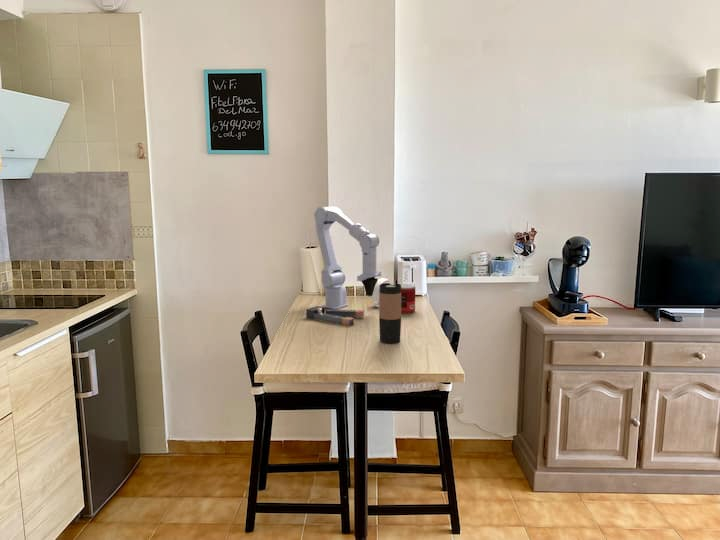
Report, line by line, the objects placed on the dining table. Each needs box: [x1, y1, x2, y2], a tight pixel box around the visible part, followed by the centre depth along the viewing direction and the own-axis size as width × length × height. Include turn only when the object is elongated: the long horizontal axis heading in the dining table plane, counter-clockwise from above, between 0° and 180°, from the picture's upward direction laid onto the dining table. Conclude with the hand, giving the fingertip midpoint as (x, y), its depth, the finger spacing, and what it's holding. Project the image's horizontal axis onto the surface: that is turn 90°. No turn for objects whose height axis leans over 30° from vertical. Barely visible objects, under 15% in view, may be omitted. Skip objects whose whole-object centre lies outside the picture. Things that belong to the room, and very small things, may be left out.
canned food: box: [400, 283, 416, 314], centre depth 237 cm, size 8×8×11 cm
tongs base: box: [305, 305, 355, 327], centre depth 223 cm, size 22×7×4 cm, turn 54°
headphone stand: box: [371, 277, 390, 308], centre depth 246 cm, size 5×6×12 cm
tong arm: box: [325, 308, 365, 319], centre depth 228 cm, size 16×3×3 cm, turn 84°
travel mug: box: [378, 282, 402, 345], centre depth 194 cm, size 8×8×20 cm
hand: (369, 295), depth 232 cm, fingers closed
